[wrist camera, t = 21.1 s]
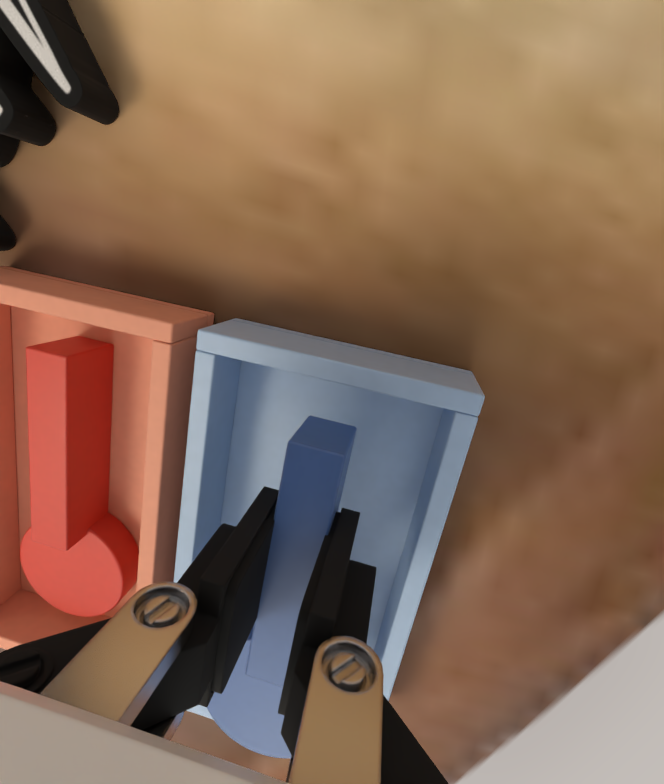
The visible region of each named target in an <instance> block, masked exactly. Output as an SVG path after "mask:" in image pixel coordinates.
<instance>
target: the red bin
mask: <svg viewBox="0 0 664 784" xmlns="http://www.w3.org/2000/svg"><path fill="white" fill-rule="evenodd" d="M213 322H214V313H212V312H208V311H203V310H199V309H194V308H190V307H185V306H181V305H177V304H172V303H168V302H163V301H159V300H154V299H150V298H146V297H141V296H137V295H132V294H128V293H123V292H119V291H115V290H110V289H106V288H101V287H97V286H92V285H88V284H84V283H79V282H75V281H70V280H66V279H61V278H57V277H53V276H48V275H44V274H39V273H35V272H30V271H26V270H22V269H17V268H13V267H8V266H0V648H3V649H6V650H8V649H10V648H13V647H15V646H18V645H21V644H24V643H28V642H31V641H35V640H38V639H41V638H45V637H48V636H52V635H55V634H58V633H62V632H65V631H68V630H72V629H75V628H79V627H82V626H85V625H89V624H92V623H96V622H99V621H102V620H106V619H109V618H112V617H113V616H114V615H115V614H116V612H117V611H118V610H119V609H120V608H121V607H122V606H123V605H124V604H125V603H126V602H127V601H128V600H129V599H130V598H131V597H132V596H133V595H134V594H135V593H136V592H137V591H139V590H140V589H141V588H143V587H146V586H148V585H150V584H153V583H158V582H174V571H175V561H176V551H177V540H178V530H179V519H180V509H181V499H182V488H183V478H184V467H185V457H186V446H187V436H188V426H189V415H190V405H191V394H192V384H193V373H194V363H195V353H196V350H197V349H196V344H197V333H198V330H199V329H202V328H205V327H208V326H211V325H213ZM74 336H82V337H86V338H90V339H94V340H98V341H103V342H107V343H111V344H113V345H114V355H113V385H112V415H111V444H110V474H109V504H108V512H109V513H110V514H112V515H113V516H115V517H116V518H117V519H118V520H119V521H121V522H122V523H123V524H124V526H125V527H126V528H127V529H128V530H129V532H130V533H131V534H132V536H133V538H134V540H135V542H136V544H137V546H138V549H139V559H138V574H137V581H136V583H135V584H134V586H133V587H132V588H131V589H130V590H129V591H128V593H127V594H126V595H125V596H124V597H123V598H122V600H121V601H120V602H119V603H118V604H117V605H116V606H115V607H114V608H113V609H112V610H110V611H109V612H107V613H105V614H102V615H99V616H95V617H81V616H75V615H71V614H68V613H66V612H63V611H61V610H59V609H57V608H56V607H54V606H52V605H51V604H49V603H48V602H47V601H45V600H44V599H43V598H42V597H41V596H40V595H39V594H38V593H37V592H36V591H35V590H34V588H33V587H32V586H31V584H30V583H29V581H28V579H27V578H26V576H25V574H24V571H23V568H22V565H21V561H20V544H21V541H22V538H23V536H24V534H25V533H26V531H27V530H28V529H29V527H30V526H31V512H30V479H29V446H28V413H27V380H26V347H28V346H32V345H37V344H42V343H46V342H51V341H56V340H60V339H65V338H70V337H74Z"/></svg>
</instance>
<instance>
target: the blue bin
mask: <svg viewBox="0 0 664 784" xmlns="http://www.w3.org/2000/svg"><path fill="white" fill-rule="evenodd" d="M196 349H197V350H196V353H195V363H194V373H193V384H192V394H191V405H190V415H189V426H188V436H187V446H186V457H185V467H184V478H183V488H182V499H181V509H180V519H179V530H178V540H177V551H176V561H175V571H174V582H176V583H177V582H178V581H179V579H180V578H181V577H182V575H183V574H184V573H185V571H186V570H187V569H188V567H189V566H190V565H191V564H192V562H193V561H194V560H195V558H196V557H197V556H198V554H199V553H200V552H201V550H202V549H203V548H204V546H205V545H206V544H207V542H208V541H209V540H210V538H211V537H212V536H213V535H214V533H215V532H216V531H217V529H218V528H219V527H220V526H221V525H222V524H224V523H225V524H229V525H232V526H237V524H238V523H239V522H240V520H241V519H242V517H243V516H244V514H245V513H246V512H247V510H248V509H249V507H250V506H251V504H252V503H253V501H254V500H255V499H256V497H257V496H258V494H259V493H260V491H261V490H262V489H263V487H264V486H266V487H269V488H273V489H277V490H279V486H280V481H281V476H282V470H283V465H284V459H285V454H286V449H287V443H288V441H289V440H290V439H291V437H292V436H293V435H294V434H295V432H296V431H297V430H298V429H299V427H300V426H301V425H302V424H303V422H304V421H305V420H306V419H307V417H308V416H315V417H319V418H323V419H327V420H331V421H335V422H339V423H343V424H347V425H351V426H355V427H356V428H357V430H356V435H355V439H354V444H353V448H352V452H351V457H350V461H349V466H348V470H347V474H346V479H345V483H344V488H343V492H342V496H341V501H340V505H339V510H338V512H341V509H342V508H346V509H350V510H353V511H357V512H360V517H359V521H358V525H357V530H356V534H355V538H354V543H353V547H352V551H351V556H350V560H354V561H357V562H361V563H364V564H367V565H371V566H374V567H376V577H375V584H374V592H373V599H372V607H371V614H370V621H369V629H368V636H367V645H369V646H370V647H371V648H372V649H373V650H374V652H375V653H376V654H377V655H378V657H379V659H380V661H381V663H382V667H383V674H384V677H383V695H384V696H385V697H386V699H387V700H388V701H389V698H390V695H391V692H392V688H393V685H394V682H395V679H396V676H397V673H398V669H399V666H400V663H401V660H402V657H403V654H404V651H405V647H406V644H407V641H408V638H409V635H410V632H411V629H412V625H413V622H414V619H415V616H416V613H417V610H418V607H419V603H420V600H421V597H422V594H423V591H424V588H425V584H426V581H427V578H428V575H429V572H430V569H431V566H432V562H433V559H434V556H435V553H436V550H437V547H438V544H439V540H440V537H441V534H442V531H443V528H444V525H445V522H446V518H447V515H448V512H449V509H450V506H451V503H452V499H453V496H454V493H455V490H456V487H457V484H458V481H459V477H460V474H461V471H462V468H463V465H464V462H465V459H466V455H467V452H468V449H469V446H470V443H471V440H472V437H473V433H474V430H475V427H476V424H477V421H478V415H479V414H480V411H481V408H482V405H483V402H484V399H485V395H484V393H483V392H482V390H481V388H480V386H479V384H478V382H477V380H476V379H475V377H474V375H473V373H472V372H471V371H469V370H464V369H460V368H455V367H451V366H447V365H442V364H438V363H433V362H429V361H424V360H420V359H416V358H411V357H407V356H402V355H398V354H393V353H389V352H385V351H380V350H376V349H371V348H367V347H362V346H358V345H354V344H349V343H345V342H340V341H336V340H331V339H327V338H323V337H318V336H314V335H309V334H305V333H300V332H296V331H292V330H287V329H283V328H278V327H274V326H270V325H265V324H261V323H256V322H252V321H247V320H243V319H239V318H234V319H231V320H228V321H225V322H221V323H218V324H215V325H211V326H208V327H205V328H202V329H199V330H198V333H197V344H196ZM187 711H190V712H193V713H196V714H199V715H202V716H205V717H207V718H210V719H213V718H212V716H211V715H210V713H209V711H208V709H207V707H204V706H201V705H197V706H195V707H193V708H191V709H188V710H187ZM213 720H214V719H213Z"/></svg>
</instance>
